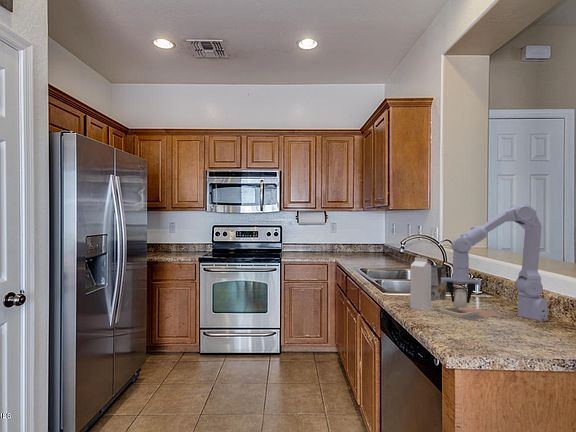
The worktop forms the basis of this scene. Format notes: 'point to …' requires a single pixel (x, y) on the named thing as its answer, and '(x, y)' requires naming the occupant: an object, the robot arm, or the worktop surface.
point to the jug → (460, 298)
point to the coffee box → (438, 282)
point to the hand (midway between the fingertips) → (460, 302)
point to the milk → (420, 284)
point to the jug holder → (466, 312)
